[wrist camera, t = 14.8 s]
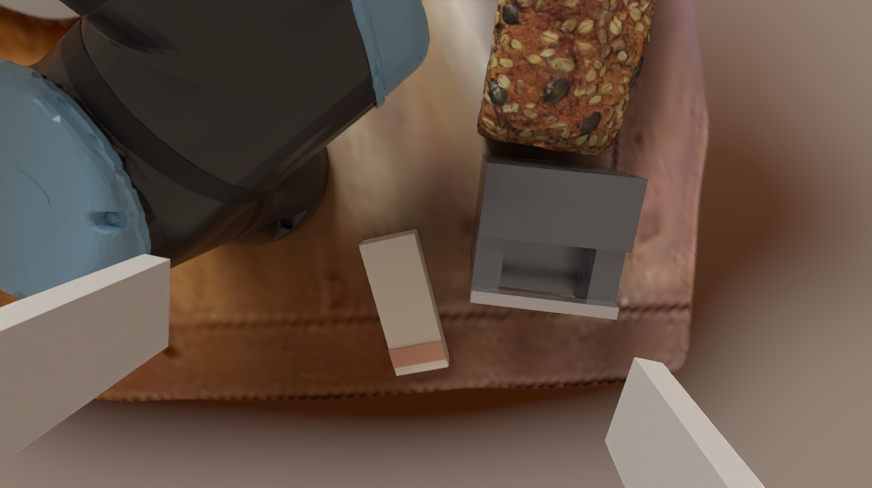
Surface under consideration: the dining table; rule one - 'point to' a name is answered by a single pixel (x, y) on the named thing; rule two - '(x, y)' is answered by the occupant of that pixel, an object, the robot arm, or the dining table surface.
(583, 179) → the dispenser
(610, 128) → the bread
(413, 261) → the ticket
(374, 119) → the dining table surface
